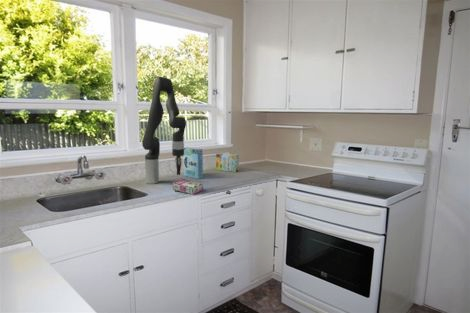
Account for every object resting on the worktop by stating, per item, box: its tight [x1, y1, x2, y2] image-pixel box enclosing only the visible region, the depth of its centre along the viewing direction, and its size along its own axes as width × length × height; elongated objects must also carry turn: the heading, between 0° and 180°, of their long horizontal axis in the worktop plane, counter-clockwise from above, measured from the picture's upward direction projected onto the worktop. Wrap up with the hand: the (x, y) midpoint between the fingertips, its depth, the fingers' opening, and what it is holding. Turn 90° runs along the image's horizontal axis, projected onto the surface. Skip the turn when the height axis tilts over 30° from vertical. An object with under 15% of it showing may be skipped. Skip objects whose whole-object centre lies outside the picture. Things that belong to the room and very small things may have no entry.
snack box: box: [215, 152, 240, 173], centre depth 270 cm, size 21×6×15 cm, turn 58°
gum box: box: [182, 146, 204, 180], centre depth 241 cm, size 20×5×23 cm, turn 45°
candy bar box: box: [172, 178, 204, 195], centre depth 197 cm, size 11×5×16 cm
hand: (178, 174), depth 200 cm, fingers closed
